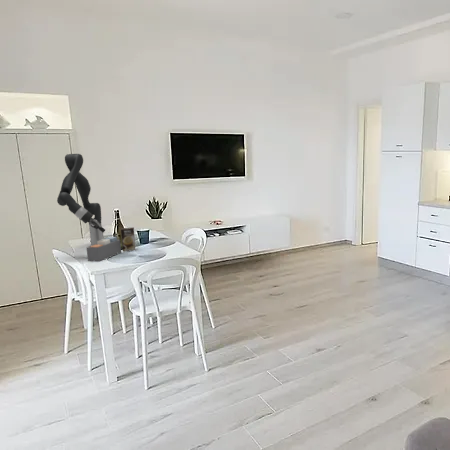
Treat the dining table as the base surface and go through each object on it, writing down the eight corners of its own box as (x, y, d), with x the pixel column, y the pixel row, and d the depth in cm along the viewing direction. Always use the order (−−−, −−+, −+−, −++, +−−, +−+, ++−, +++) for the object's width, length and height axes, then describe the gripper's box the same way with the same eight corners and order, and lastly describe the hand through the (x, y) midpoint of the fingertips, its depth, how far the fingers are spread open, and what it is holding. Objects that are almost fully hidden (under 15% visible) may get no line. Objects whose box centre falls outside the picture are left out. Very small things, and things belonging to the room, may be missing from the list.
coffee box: (122, 251, 278) (120, 229, 276) (123, 249, 285) (121, 228, 282) (135, 250, 280) (133, 228, 277) (135, 248, 286) (133, 226, 283)
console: (110, 251, 280) (109, 239, 278) (121, 252, 277) (120, 239, 275) (88, 260, 257) (86, 247, 255) (99, 261, 254) (98, 248, 252)
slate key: (109, 240, 277) (109, 236, 276) (117, 241, 275) (116, 236, 274) (104, 242, 271) (104, 238, 271) (112, 243, 269) (111, 238, 269)
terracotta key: (96, 248, 262) (95, 244, 262) (103, 249, 260) (103, 244, 260) (90, 250, 256) (89, 246, 256) (97, 251, 255) (97, 246, 254)
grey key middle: (103, 243, 269) (102, 239, 269) (110, 243, 267) (109, 239, 267) (97, 245, 264) (97, 241, 263) (105, 245, 262) (104, 241, 261)
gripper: (84, 212, 254) (106, 229, 258) (89, 209, 267) (109, 225, 271) (77, 220, 255) (98, 237, 259) (82, 217, 268) (102, 233, 271)
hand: (104, 231), depth 265 cm, fingers closed
